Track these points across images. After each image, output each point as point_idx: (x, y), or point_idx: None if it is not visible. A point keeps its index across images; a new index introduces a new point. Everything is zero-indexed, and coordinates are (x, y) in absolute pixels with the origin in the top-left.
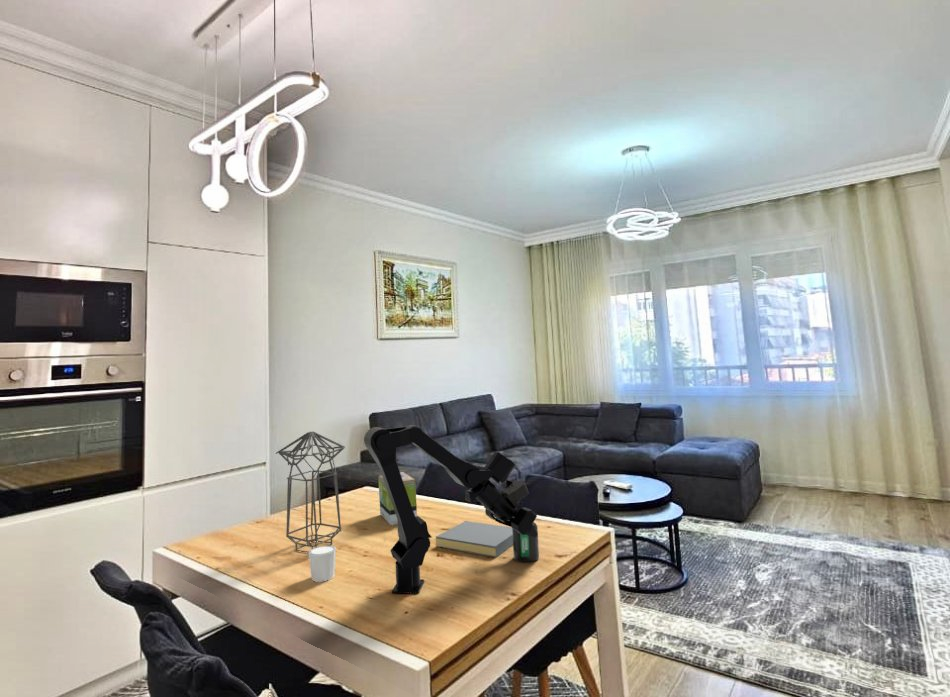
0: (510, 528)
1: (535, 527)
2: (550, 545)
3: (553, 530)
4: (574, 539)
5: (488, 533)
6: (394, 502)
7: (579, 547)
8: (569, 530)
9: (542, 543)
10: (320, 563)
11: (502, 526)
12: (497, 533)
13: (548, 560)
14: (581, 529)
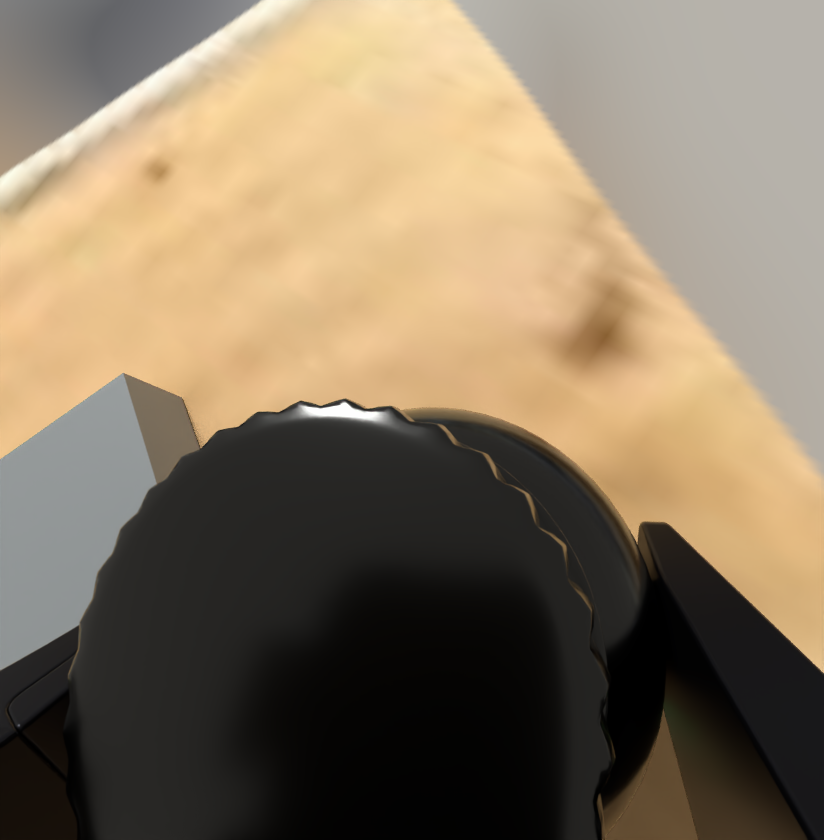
0: (67, 439)
1: (616, 519)
2: (388, 295)
3: (212, 171)
4: (399, 125)
5: (14, 661)
6: None
7: (535, 151)
8: (271, 97)
9: (327, 323)
10: None
11: (2, 466)
12: (64, 595)
13: (637, 461)
14: (302, 38)
